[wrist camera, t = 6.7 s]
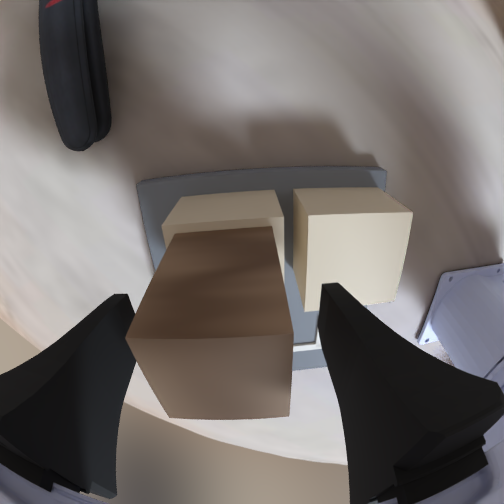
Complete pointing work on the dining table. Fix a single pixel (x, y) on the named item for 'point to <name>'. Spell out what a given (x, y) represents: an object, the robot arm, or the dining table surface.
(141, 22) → the dining table surface
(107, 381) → the robot arm
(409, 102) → the dining table surface
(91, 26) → the can opener
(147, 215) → the board
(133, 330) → the walnut block
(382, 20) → the dining table surface
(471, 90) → the dining table surface
